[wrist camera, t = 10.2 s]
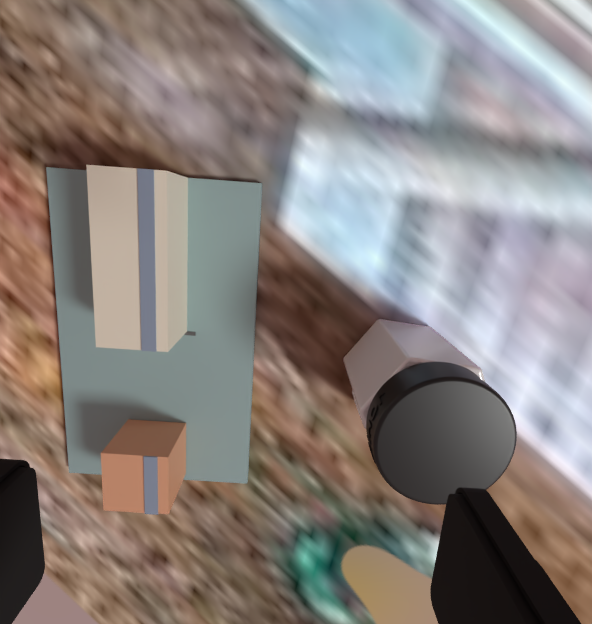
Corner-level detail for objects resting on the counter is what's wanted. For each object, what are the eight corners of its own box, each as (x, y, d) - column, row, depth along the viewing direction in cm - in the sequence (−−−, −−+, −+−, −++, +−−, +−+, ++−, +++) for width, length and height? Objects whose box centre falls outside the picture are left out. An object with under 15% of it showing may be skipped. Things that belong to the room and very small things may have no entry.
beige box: (120, 172, 30) (85, 164, 25) (187, 177, 30) (166, 170, 25) (125, 327, 32) (95, 347, 28) (186, 331, 33) (167, 352, 28)
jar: (331, 335, 33) (350, 400, 22) (424, 301, 33) (496, 349, 21) (365, 425, 35) (399, 529, 24) (454, 395, 35) (534, 487, 23)
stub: (128, 419, 34) (100, 453, 29) (186, 423, 34) (167, 458, 29) (129, 469, 36) (103, 511, 31) (185, 473, 36) (168, 515, 31)
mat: (51, 168, 30) (45, 167, 29) (262, 183, 30) (261, 183, 30) (72, 468, 36) (68, 472, 36) (247, 479, 37) (246, 483, 36)
